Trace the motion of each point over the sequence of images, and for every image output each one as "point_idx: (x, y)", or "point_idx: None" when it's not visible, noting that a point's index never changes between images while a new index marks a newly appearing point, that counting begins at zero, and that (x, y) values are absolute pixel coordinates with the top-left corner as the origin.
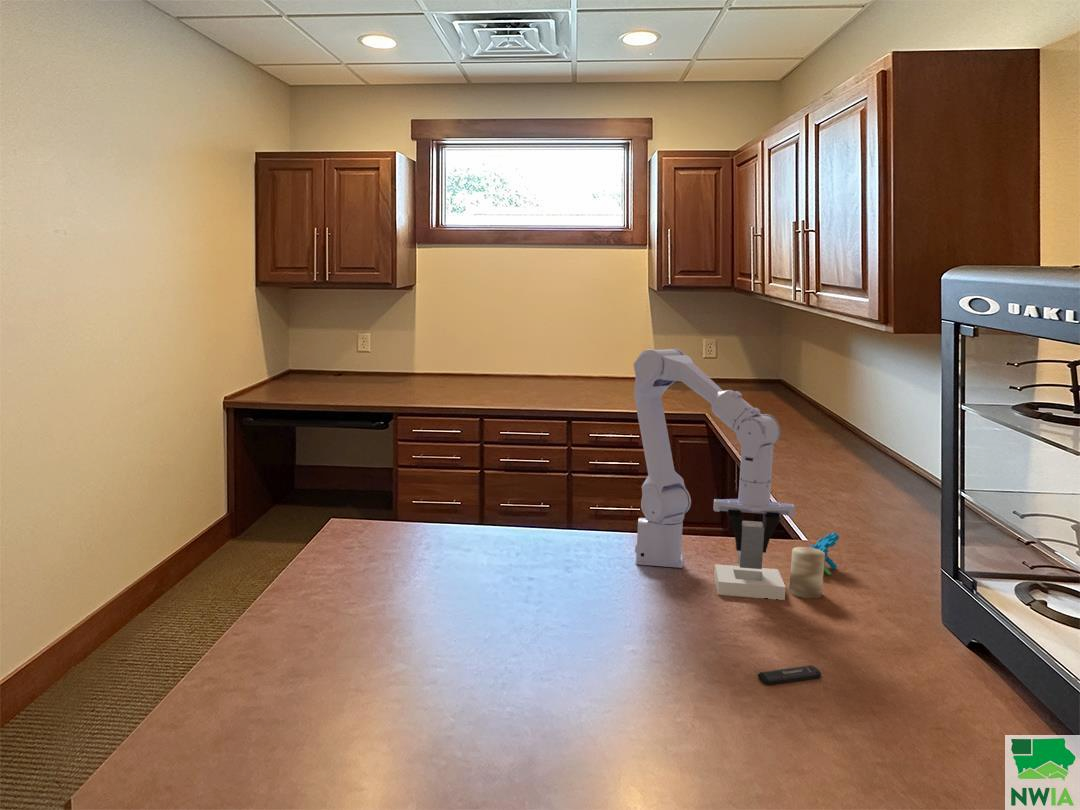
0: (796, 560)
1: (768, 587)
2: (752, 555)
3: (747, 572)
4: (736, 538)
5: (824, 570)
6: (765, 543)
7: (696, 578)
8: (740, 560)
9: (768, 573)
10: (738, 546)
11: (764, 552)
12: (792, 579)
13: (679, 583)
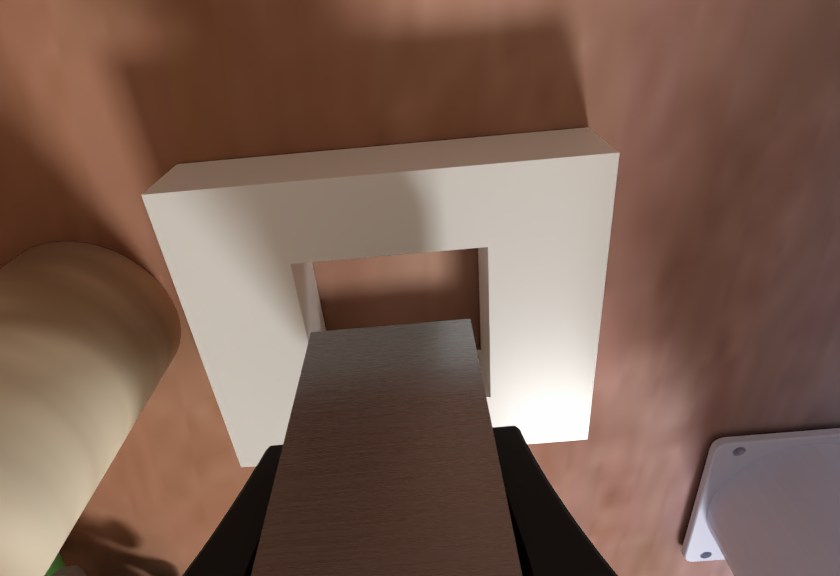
0: (16, 415)
1: (263, 179)
2: (380, 394)
3: None
4: (564, 513)
5: (58, 557)
6: (250, 512)
7: (666, 342)
8: (475, 353)
9: (283, 395)
10: (516, 451)
11: (277, 446)
12: (123, 333)
13: (786, 244)
